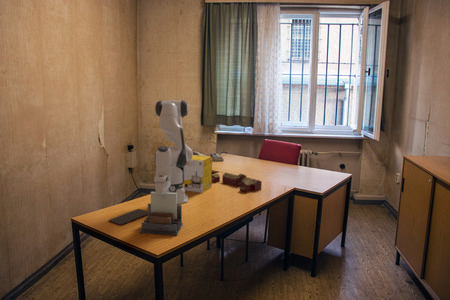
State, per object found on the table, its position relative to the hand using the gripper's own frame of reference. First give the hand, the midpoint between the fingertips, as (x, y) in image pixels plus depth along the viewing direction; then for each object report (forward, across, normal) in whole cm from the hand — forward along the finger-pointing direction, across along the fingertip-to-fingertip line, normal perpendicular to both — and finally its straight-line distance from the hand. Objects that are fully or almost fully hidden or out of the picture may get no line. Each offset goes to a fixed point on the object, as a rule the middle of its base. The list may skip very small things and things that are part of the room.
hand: (163, 198), depth 211 cm
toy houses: (+18, -92, +34) cm, 99 cm away
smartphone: (+18, -10, -24) cm, 31 cm away
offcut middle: (+15, +4, 0) cm, 16 cm away
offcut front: (+15, +8, 0) cm, 17 cm away
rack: (+17, +4, 0) cm, 17 cm away
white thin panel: (+15, 0, 0) cm, 15 cm away
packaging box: (+18, -76, +7) cm, 79 cm away
